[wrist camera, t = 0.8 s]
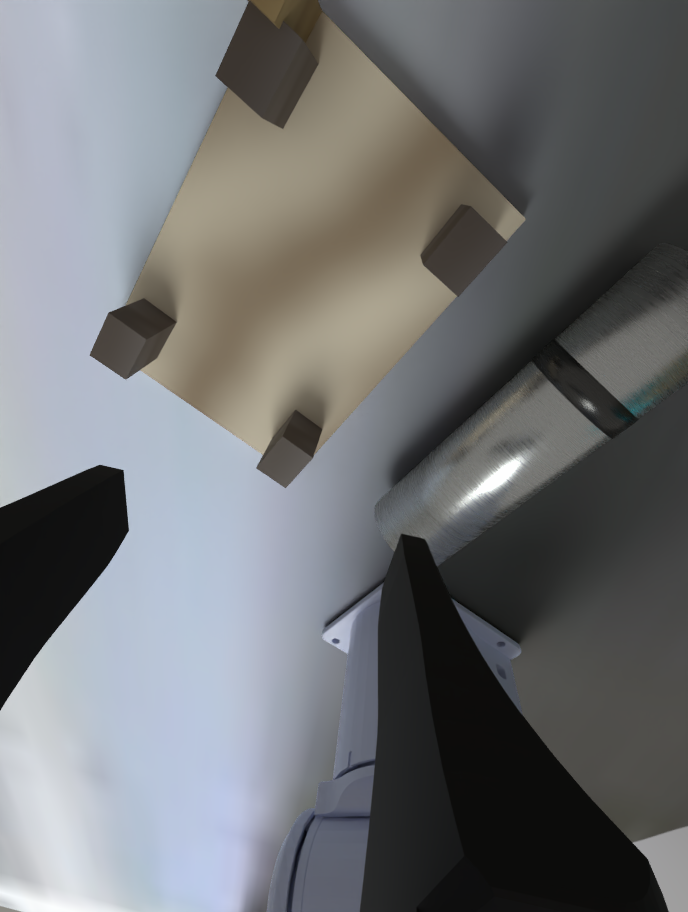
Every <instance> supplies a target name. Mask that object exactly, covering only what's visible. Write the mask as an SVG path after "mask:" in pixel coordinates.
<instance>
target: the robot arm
mask: <svg viewBox="0 0 688 912" xmlns="http://www.w3.org/2000/svg"><path fill="white" fill-rule="evenodd" d="M128 531H129V527H128V516H127V505H126V494H125V483H124V472H123V470H120V469H116V468H112V467H107V466H103V465H98V466H96V467H93V468H91V469H88V470H86V471H83V472H81V473H79V474H76V475H74V476H72V477H70V478H67V479H65V480H63V481H61V482H58V483H56V484H54V485H52V486H49V487H47V488H45V489H43V490H40V491H38V492H36V493H33V494H31V495H29V496H27V497H24V498H22V499H20V500H17V501H15V502H13V503H11V504H8V505H6V506H3V507H1V508H0V710H1V708H2V707H3V705H4V704H5V702H6V700H7V699H8V697H9V696H10V694H11V693H12V691H13V690H14V688H15V687H16V685H17V684H18V682H19V681H20V679H21V678H22V676H23V675H24V673H25V672H26V670H27V669H28V667H29V665H30V664H31V662H32V661H33V659H34V658H35V657H36V655H37V654H38V653H39V651H40V650H41V649H42V647H43V646H44V645H45V643H46V642H47V641H48V639H49V638H50V637H51V636H52V634H53V633H54V632H55V631H56V629H57V628H58V627H59V626H60V624H61V623H62V622H63V621H64V619H65V618H66V617H67V616H68V615H69V613H70V612H71V611H72V610H73V608H74V607H75V606H76V605H77V603H78V602H79V601H80V600H81V598H82V597H83V596H84V595H85V593H86V592H87V591H88V590H89V588H90V587H91V586H92V585H93V583H94V582H95V581H96V580H97V578H98V577H99V576H100V575H101V573H102V572H103V571H104V570H105V568H106V567H107V566H108V564H109V563H110V561H111V560H112V558H113V556H114V555H115V553H116V552H117V550H118V548H119V547H120V545H121V543H122V541H123V540H124V538H125V536H126V535H127V533H128ZM322 638H323V639H324V640H325V641H327V642H328V643H330V644H332V645H333V646H335V647H337V648H339V649H340V650H342V651H344V652H345V653H347V654H348V657H347V665H346V674H345V682H344V691H343V699H342V707H341V716H340V724H339V733H338V741H337V749H336V758H335V766H334V775H333V780H332V781H325V782H320V783H319V785H318V792H317V799H316V806H315V808H310V809H307V810H305V811H303V812H302V813H301V814H300V815H299V816H298V818H297V819H296V821H295V822H294V824H293V826H292V827H291V830H290V832H289V833H288V835H287V836H286V838H285V840H284V842H283V844H282V847H281V849H280V852H279V854H278V857H277V860H276V864H275V867H274V871H273V876H272V880H271V885H270V891H269V897H268V905H267V912H668V909H667V906H666V903H665V900H664V897H663V894H662V892H661V889H660V887H659V885H658V883H657V880H656V878H655V875H654V873H653V871H652V868H651V866H650V864H649V861H648V859H647V858H646V857H645V856H644V855H643V854H642V853H641V852H640V850H639V849H637V847H636V846H635V845H634V844H633V843H632V842H631V841H630V840H629V839H628V838H627V837H626V836H625V835H624V833H623V832H622V831H621V830H620V829H619V828H618V827H617V826H616V825H615V824H614V823H613V822H612V821H611V820H610V819H609V818H608V816H607V815H606V814H605V813H604V812H603V811H602V810H601V809H600V808H599V807H598V806H597V805H596V804H595V803H594V802H593V800H592V799H591V798H590V797H589V796H588V795H587V794H586V793H585V791H584V790H583V789H582V788H581V787H580V786H579V784H578V783H577V782H576V781H575V780H574V779H573V777H572V776H571V775H570V774H569V773H568V772H567V770H566V769H565V768H564V767H563V766H562V765H561V763H560V762H559V761H558V760H557V759H556V757H555V756H554V755H553V754H552V753H551V751H550V750H549V749H548V748H547V746H546V745H545V744H544V742H543V741H542V740H541V738H540V737H539V736H538V735H537V733H536V732H535V731H534V729H533V728H532V727H531V726H530V724H529V723H528V722H527V720H526V719H525V718H524V716H523V714H522V709H521V705H520V700H519V696H518V692H517V687H516V683H515V679H514V674H513V670H512V666H511V661H510V660H511V659H513V658H515V657H517V656H518V655H520V654H521V648H520V645H519V644H518V643H517V642H515V641H514V640H512V639H511V638H509V637H508V636H506V635H505V634H503V633H502V632H500V631H499V630H497V629H496V628H494V627H493V626H492V625H490V624H489V623H487V622H486V621H484V620H483V619H481V618H480V617H478V616H477V615H475V614H474V613H472V612H471V611H469V610H468V609H467V608H465V607H464V606H462V605H461V604H459V603H458V602H456V601H455V600H453V599H452V598H451V596H450V594H449V592H448V590H447V588H446V586H445V584H444V582H443V579H442V577H441V575H440V573H439V570H438V568H437V566H436V563H435V561H434V558H433V556H432V553H431V551H430V548H429V546H428V543H427V542H426V540H425V539H423V538H419V537H415V536H410V535H406V534H401V535H400V538H399V541H398V544H397V547H396V550H395V552H394V555H393V558H392V561H391V564H390V567H389V570H388V573H387V575H386V578H385V581H384V583H382V584H381V585H380V586H379V587H377V588H376V589H375V590H373V591H372V592H371V593H369V594H368V595H367V596H366V597H364V598H363V599H362V600H360V601H359V602H358V603H357V604H355V605H354V606H353V607H351V608H350V609H349V610H348V611H346V612H345V613H344V614H342V615H341V616H340V617H339V618H337V619H336V620H335V621H333V622H332V623H331V624H330V625H328V626H327V627H326V628H324V629H323V631H322Z"/></svg>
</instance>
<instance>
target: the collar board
mask: <svg viewBox="0 0 688 912" xmlns="http://www.w3.org/2000/svg"><path fill="white" fill-rule="evenodd" d="M248 1H249V2H248V5H247V7H246V9H245V11H244V13H243V16H242V18H241V20H240V22H239V25H238V27H237V29H236V31H235V33H234V36H233V38H232V40H231V42H230V45H229V47H228V49H227V51H226V53H225V56H224V58H223V60H222V62H221V65H220V67H219V69H218V71H217V73H216V77H217V78H218V79H219V80H220V81H222V82H223V83H224V84H225V85H226V86H227V87H228V88H227V90H226V93H225V95H224V97H223V99H222V101H221V103H220V105H219V107H218V110H217V112H216V114H215V116H214V118H213V120H212V122H211V125H210V127H209V129H208V131H207V133H206V135H205V137H204V139H203V142H202V144H201V146H200V148H199V150H198V152H197V154H196V156H195V159H194V161H193V163H192V165H191V167H190V169H189V171H188V174H187V176H186V178H185V180H184V182H183V184H182V186H181V188H180V191H179V193H178V195H177V197H176V199H175V201H174V203H173V206H172V208H171V210H170V212H169V214H168V216H167V218H166V220H165V223H164V225H163V227H162V229H161V231H160V233H159V235H158V238H157V240H156V242H155V244H154V246H153V248H152V250H151V252H150V255H149V257H148V259H147V261H146V263H145V265H144V267H143V270H142V272H141V274H140V276H139V278H138V280H137V282H136V284H135V287H134V289H133V291H132V293H131V295H130V297H129V299H128V302H127V304H126V306H124V307H121V308H119V309H117V310H114V311H112V312H109V313H108V315H107V317H106V320H105V322H104V324H103V326H102V329H101V331H100V333H99V335H98V337H97V340H96V342H95V344H94V346H93V349H92V351H91V353H90V356H92V357H93V358H95V359H96V360H98V361H99V362H100V363H102V364H103V365H105V366H106V367H108V368H109V369H111V370H112V371H114V372H115V373H117V374H118V375H120V376H121V377H123V378H124V379H127V378H129V377H130V376H132V375H133V374H135V373H136V372H138V371H139V370H141V371H142V372H144V373H145V374H146V375H148V376H149V377H151V378H152V379H154V380H155V381H157V382H158V383H160V384H161V385H162V386H164V387H165V388H167V389H168V390H170V391H171V392H173V393H174V394H175V395H177V396H178V397H180V398H181V399H183V400H184V401H186V402H187V403H189V404H190V405H191V406H193V407H194V408H196V409H197V410H199V411H200V412H202V413H203V414H204V415H206V416H207V417H209V418H210V419H212V420H213V421H215V422H216V423H218V424H219V425H220V426H222V427H223V428H225V429H226V430H228V431H229V432H231V433H232V434H233V435H235V436H236V437H238V438H239V439H241V440H242V441H244V442H245V443H246V444H248V445H249V446H251V447H252V448H254V449H255V450H257V451H258V452H260V453H261V454H262V455H263V456H262V458H261V460H260V462H259V464H258V466H257V469H258V470H260V471H261V472H263V473H264V474H266V475H267V476H269V477H270V478H272V479H273V480H274V481H276V482H277V483H279V484H280V485H282V486H283V487H285V488H286V487H287V486H288V485H289V484H290V483H291V482H292V481H293V479H294V478H295V477H296V476H297V475H298V474H299V473H300V472H301V471H302V469H303V468H304V467H305V466H306V465H307V464H308V463H309V462H310V461H311V460H312V458H313V456H314V454H315V453H316V452H317V451H318V450H319V449H320V448H321V447H322V446H323V444H324V443H325V442H326V441H327V440H328V439H329V438H330V437H331V436H332V434H333V433H334V432H335V431H336V430H337V429H338V428H339V427H340V426H341V424H342V423H343V422H344V421H345V420H346V419H347V418H348V417H349V416H350V414H351V413H352V412H353V411H354V410H355V409H356V408H357V407H358V406H359V404H360V403H361V402H362V401H363V400H364V399H365V398H366V397H367V396H368V394H369V393H370V392H371V391H372V390H373V389H374V388H375V387H376V386H377V384H378V383H379V382H380V381H381V380H382V379H383V378H384V377H385V376H386V374H387V373H388V372H389V371H390V370H391V369H392V368H393V367H394V366H395V364H396V363H397V362H398V361H399V360H400V359H401V358H402V357H403V356H404V354H405V353H406V352H407V351H408V350H409V349H410V348H411V347H412V346H413V344H414V343H415V342H416V341H417V340H418V339H419V338H420V337H421V336H422V334H423V333H424V332H425V331H426V330H427V329H428V328H429V327H430V326H431V324H432V323H433V322H434V321H435V320H436V319H437V318H438V317H439V316H440V314H441V313H442V312H443V311H444V310H445V309H446V308H447V307H448V306H449V304H450V303H451V302H452V301H453V300H454V299H455V298H456V297H457V296H458V297H459V295H460V294H461V293H462V292H463V291H464V290H465V289H466V288H467V287H468V285H469V284H470V283H471V282H472V281H473V280H474V279H475V278H476V277H477V275H478V274H479V273H480V272H481V271H482V270H483V269H484V268H485V267H486V266H487V264H488V263H489V262H490V261H491V260H492V259H493V258H494V257H495V256H496V254H497V253H498V252H499V251H500V250H501V249H502V248H503V247H504V246H505V244H506V243H507V240H508V239H509V238H510V237H511V235H512V234H513V233H514V232H515V231H516V230H517V229H518V228H519V227H520V225H521V224H522V223H523V222H524V221H525V220H526V219H525V218H524V217H523V216H522V215H521V214H520V213H519V212H518V211H517V210H516V208H515V207H514V206H513V205H512V204H511V203H510V202H509V201H508V200H507V199H506V198H505V197H504V196H503V195H502V194H501V193H500V192H499V191H498V190H497V189H496V188H495V187H494V186H493V185H492V184H491V183H490V182H489V181H488V180H487V179H486V178H485V177H484V176H483V175H482V174H481V173H480V172H479V171H478V170H477V169H476V168H475V167H474V166H473V165H472V164H471V162H470V161H469V160H468V159H467V158H466V157H465V156H464V155H463V154H462V153H461V152H460V151H459V150H458V149H457V148H456V147H455V146H454V145H453V144H452V143H451V142H450V141H449V140H448V139H447V138H446V137H445V136H444V135H443V134H442V133H441V132H440V131H439V130H438V129H437V128H436V127H435V126H434V125H433V124H432V123H431V122H430V121H429V120H428V119H427V118H426V116H425V115H424V114H423V113H422V112H421V111H420V110H419V109H418V108H417V107H416V106H415V105H414V104H413V103H412V102H411V101H410V100H409V99H408V98H407V97H406V96H405V95H404V94H403V93H402V92H401V91H400V90H399V89H398V88H397V87H396V86H395V85H394V84H393V83H392V82H391V81H390V80H389V79H388V78H387V77H386V76H385V75H384V74H383V73H382V72H381V70H380V69H379V68H378V67H377V66H376V65H375V64H374V63H373V62H372V61H371V60H370V59H369V58H368V57H367V56H366V55H365V54H364V53H363V52H362V51H361V50H360V49H359V48H358V47H357V46H356V45H355V44H354V43H353V42H352V41H351V40H350V39H349V38H348V37H347V36H346V35H345V34H344V33H343V32H342V31H341V30H340V29H339V28H338V27H337V26H336V24H335V23H334V22H333V21H332V20H331V19H330V18H329V17H328V16H327V15H326V14H325V13H324V12H323V11H322V9H321V7H320V5H319V2H318V0H248Z"/></svg>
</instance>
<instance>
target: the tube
mask: <svg viewBox="0 0 688 912" xmlns="http://www.w3.org/2000/svg"><path fill="white" fill-rule="evenodd" d="M687 383H688V252H687V251H686V250H684V249H682V248H679V247H677V246H674V245H671V244H668V243H660V244H658V245H657V246H656V247H655V248H654V249H653V250H652V251H651V252H650V253H648V254H647V255H646V256H645V257H644V258H643V259H642V260H641V261H640V262H639V263H638V264H636V265H635V266H634V267H633V268H632V269H631V270H630V271H629V272H628V273H627V274H625V275H624V276H623V277H622V278H621V279H620V280H619V281H618V282H617V283H616V284H615V285H613V286H612V287H611V288H610V289H609V290H608V291H607V292H606V293H605V294H604V295H603V296H601V297H600V298H599V299H598V300H597V301H596V302H595V303H594V304H593V305H592V306H591V307H589V308H588V309H587V310H586V311H585V312H584V313H583V314H582V315H581V316H580V317H579V318H577V319H576V320H575V321H574V322H573V323H572V324H571V325H570V326H569V327H568V328H567V329H565V330H564V331H563V332H562V333H561V334H560V335H559V336H558V337H557V338H556V339H553V340H552V341H551V342H550V343H549V344H548V345H547V346H546V347H545V348H543V349H542V350H541V351H540V352H539V353H538V354H537V355H536V356H535V357H534V358H533V359H532V361H530V362H529V363H528V364H527V365H526V366H525V367H524V368H523V369H522V370H521V371H520V372H518V373H517V374H516V375H515V376H514V377H513V378H512V379H511V380H510V381H509V382H508V383H506V384H505V385H504V386H503V387H502V388H501V389H500V390H499V391H498V392H497V393H496V394H494V395H493V396H492V397H491V398H490V399H489V400H488V401H487V402H486V403H485V404H483V405H482V406H481V407H480V408H479V409H478V410H477V411H476V412H475V413H474V414H473V415H471V416H470V417H469V418H468V419H467V420H466V421H465V422H464V423H463V424H462V425H461V426H459V427H458V428H457V429H456V430H455V431H454V432H453V433H452V434H451V435H450V436H449V437H447V438H446V439H445V440H444V441H443V442H442V443H441V444H440V445H439V446H438V447H437V448H435V449H434V450H433V451H432V452H431V453H430V454H429V455H428V456H427V457H426V458H425V459H423V460H422V461H421V462H420V463H419V464H418V465H417V466H416V467H415V468H414V469H412V470H411V471H410V472H409V473H408V474H407V475H406V476H405V477H404V478H403V479H402V480H400V481H399V482H398V483H397V484H396V485H395V486H394V487H393V488H392V489H391V490H390V491H388V492H387V493H386V494H385V495H384V496H383V497H382V498H381V499H380V500H379V501H378V502H377V503H376V505H375V512H374V513H375V519H376V523H377V526H378V528H379V530H380V532H381V534H382V536H383V538H384V539H385V541H386V542H387V544H388V545H389V546H390V547H391V549H392V550H393V551H394V552H395V550H396V547H397V544H398V541H399V538H400V535H401V534H406V535H410V536H415V537H419V538H423V539H425V540H426V542H427V543H428V546H429V548H430V551H431V553H432V556H433V558H434V561H435V563H436V566H439V565H440V564H441V563H443V562H444V561H446V560H447V559H448V558H450V557H451V556H452V555H454V554H455V553H456V552H458V551H459V550H461V549H462V548H463V547H465V546H466V545H467V544H469V543H470V542H471V541H473V540H474V539H476V538H477V537H478V536H480V535H481V534H482V533H484V532H485V531H486V530H488V529H489V528H491V527H492V526H493V525H495V524H496V523H497V522H499V521H500V520H501V519H503V518H504V517H505V516H507V515H508V514H510V513H511V512H512V511H514V510H515V509H516V508H518V507H519V506H520V505H522V504H523V503H525V502H526V501H527V500H529V499H530V498H531V497H533V496H534V495H535V494H537V493H538V492H540V491H541V490H542V489H544V488H545V487H546V486H548V485H549V484H550V483H552V482H553V481H555V480H556V479H557V478H559V477H560V476H561V475H563V474H564V473H565V472H567V471H568V470H570V469H571V468H572V467H574V466H575V465H576V464H578V463H579V462H580V461H582V460H583V459H584V458H586V457H587V456H589V455H590V454H591V453H593V452H594V451H595V450H597V449H598V448H599V447H601V446H602V445H604V444H605V443H606V442H608V441H609V440H610V439H613V438H615V437H616V436H617V435H619V434H620V433H621V432H623V431H624V430H626V429H627V428H628V427H630V426H631V425H632V424H634V423H635V422H636V421H638V420H639V418H640V417H642V416H643V415H644V414H646V413H647V412H649V411H650V410H651V409H653V408H654V407H655V406H657V405H658V404H659V403H661V402H662V401H664V400H665V399H666V398H668V397H669V396H670V395H672V394H673V393H674V392H676V391H677V390H678V389H680V388H681V387H683V386H684V385H685V384H687Z"/></svg>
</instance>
